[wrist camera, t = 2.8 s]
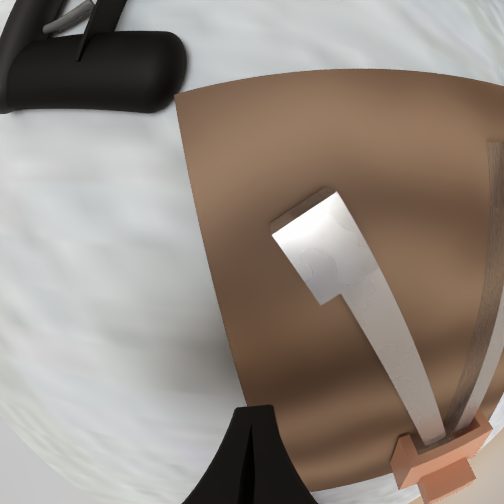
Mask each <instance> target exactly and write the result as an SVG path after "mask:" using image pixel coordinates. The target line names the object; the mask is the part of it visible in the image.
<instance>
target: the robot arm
mask: <svg viewBox="0 0 504 504" xmlns="http://www.w3.org/2000/svg"><path fill="white" fill-rule="evenodd" d="M182 504H318V503H317V502H316V501H315V499H314V498H313V496H312V492H309V491H308V489H307V487H306V486H305V484H304V483H303V481H302V480H301V478H300V476H299V474H298V473H297V471H296V469H295V467H294V465H293V463H292V462H291V460H290V457H289V455H288V453H287V451H286V449H285V446H284V444H283V442H282V439H281V437H280V434H279V429H278V424H277V420H276V415H275V410H274V406H273V405H271V404H267V405H259V406H249V407H237V408H236V409H235V410H234V413H233V416H232V419H231V422H230V425H229V427H228V430H227V432H226V434H225V436H224V439H223V441H222V443H221V445H220V447H219V449H218V451H217V453H216V455H215V457H214V459H213V460H212V462H211V464H210V465H209V467H208V469H207V470H206V472H205V474H204V475H203V477H202V478H201V480H200V481H199V483H198V484H197V486H196V487H195V488H194V490H193V491H192V492H191V493H190V495H189V496H188V497H187V498H186V500H185V501H184V502H183V503H182Z"/></svg>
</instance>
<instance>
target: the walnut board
mask: <svg viewBox="0 0 504 504" xmlns="http://www.w3.org/2000/svg"><path fill="white" fill-rule="evenodd" d="M174 98H175V104H176V110H177V115H178V121H179V127H180V132H181V138H182V143H183V148H184V153H185V158H186V164H187V169H188V174H189V178H190V183H191V188H192V193H193V198H194V202H195V207H196V212H197V216H198V221H199V225H200V229H201V234H202V238H203V243H204V247H205V251H206V255H207V260H208V264H209V268H210V272H211V276H212V280H213V284H214V288H215V292H216V296H217V300H218V304H219V308H220V312H221V315H222V319H223V323H224V327H225V330H226V334H227V338H228V341H229V345H230V349H231V352H232V356H233V359H234V363H235V366H236V370H237V373H238V377H239V380H240V384H241V387H242V390H243V394H244V397H245V400H246V404H247V407H249V406H259V405H267V404H271V405H273V406H274V410H275V415H276V420H277V424H278V429H279V434H280V437H281V439H282V442H283V444H284V446H285V449H286V451H287V453H288V455H289V457H290V460H291V462H292V463H293V465H294V467H295V469H296V471H297V473H298V474H299V476H300V478H301V480H302V481H303V483H304V484H305V486H306V487H307V489H308V491H309V492H314V491H320V490H326V489H331V488H336V487H341V486H345V485H350V484H354V483H358V482H362V481H365V480H369V479H373V478H376V477H379V476H383V475H386V474H389V473H392V472H393V471H392V468H391V465H390V462H391V459H392V457H393V454H394V451H395V448H396V446H397V443H398V440H399V438H401V437H404V436H407V435H410V437H411V439H412V442H413V444H414V446H415V448H416V451H417V453H418V455H420V454H423V453H425V452H428V451H430V450H433V449H435V448H437V447H440V446H439V444H438V442H435V443H434V444H432V445H430V446H429V447H427V448H426V447H425V445H424V442H423V440H422V438H421V436H420V434H419V432H418V430H417V428H416V426H415V424H414V422H413V420H412V419H411V417H410V415H409V413H408V411H407V409H406V407H405V405H404V403H403V401H402V399H401V397H400V396H399V394H398V392H397V390H396V388H395V386H394V384H393V383H392V381H391V379H390V377H389V375H388V373H387V372H386V370H385V368H384V366H383V364H382V363H381V361H380V359H379V357H378V356H377V354H376V352H375V350H374V349H373V347H372V345H371V343H370V342H369V340H368V338H367V336H366V335H365V333H364V331H363V330H362V328H361V326H360V325H359V323H358V321H357V319H356V318H355V316H354V314H353V313H352V311H351V309H350V308H349V306H348V305H347V303H346V301H345V300H344V298H343V296H342V295H341V293H340V294H339V295H337V296H335V297H334V298H332V299H331V300H329V301H328V302H326V303H324V304H323V305H320V304H319V303H318V301H317V300H316V298H315V297H314V295H313V294H312V292H311V291H310V289H309V288H308V286H307V285H306V283H305V282H304V281H303V279H302V278H301V276H300V275H299V273H298V272H297V270H296V269H295V267H294V266H293V265H292V263H291V262H290V260H289V259H288V257H287V256H286V255H285V253H284V252H283V250H282V249H281V247H280V246H279V245H278V243H277V242H276V240H275V239H274V237H273V236H272V233H271V228H270V223H271V222H273V221H274V220H276V219H277V218H278V217H280V216H281V215H283V214H284V213H286V212H287V211H289V210H290V209H292V208H293V207H295V206H296V205H298V204H299V203H301V202H302V201H304V200H305V199H307V198H308V197H310V196H311V195H313V194H314V193H316V192H318V191H319V190H321V189H322V188H324V187H328V188H330V189H332V190H334V191H337V192H338V194H339V196H340V197H341V199H342V201H343V202H344V204H345V206H346V207H347V209H348V211H349V212H350V214H351V216H352V218H353V219H354V221H355V223H356V225H357V226H358V228H359V230H360V232H361V234H362V235H363V237H364V239H365V241H366V243H367V245H368V246H369V248H370V250H371V252H372V254H373V256H374V258H375V260H376V262H377V264H378V266H379V268H380V270H381V272H382V273H383V276H384V278H385V280H386V282H387V284H388V286H389V288H390V290H391V292H392V294H393V296H394V298H395V300H396V303H397V305H398V307H399V309H400V311H401V313H402V316H403V318H404V320H405V323H406V325H407V327H408V329H409V332H410V334H411V337H412V339H413V341H414V344H415V346H416V349H417V351H418V354H419V356H420V359H421V361H422V364H423V367H424V369H425V372H426V375H427V377H428V380H429V383H430V386H431V389H432V391H433V394H434V397H435V400H436V403H437V406H438V409H439V413H440V416H441V419H442V422H443V421H444V419H445V417H446V414H447V412H448V410H449V407H450V405H451V402H452V400H453V397H454V395H455V392H456V389H457V386H458V384H459V381H460V378H461V375H462V372H463V369H464V366H465V362H466V359H467V356H468V352H469V349H470V345H471V342H472V338H473V334H474V330H475V325H476V321H477V317H478V312H479V307H480V302H481V296H482V290H483V284H484V277H485V270H486V261H487V251H488V239H489V220H490V183H489V164H488V152H487V142H499V143H504V86H500V85H496V84H492V83H488V82H483V81H479V80H474V79H468V78H463V77H457V76H451V75H444V74H436V73H428V72H418V71H406V70H390V69H331V70H313V71H301V72H291V73H282V74H273V75H266V76H259V77H253V78H247V79H241V80H235V81H230V82H225V83H220V84H215V85H211V86H206V87H202V88H198V89H194V90H190V91H186V92H182V93H178V94H175V95H174ZM503 392H504V347H503V350H502V353H501V356H500V359H499V362H498V364H497V367H496V369H495V372H494V375H493V377H492V379H491V382H490V384H489V387H488V389H487V391H486V393H485V396H484V398H483V400H482V402H481V404H480V406H479V408H480V410H481V411H482V413H483V414H484V416H485V417H486V419H487V420H488V421H489V419H490V417H491V416H492V414H493V412H494V410H495V408H496V406H497V404H498V403H499V401H500V399H501V397H502V395H503Z"/></svg>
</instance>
